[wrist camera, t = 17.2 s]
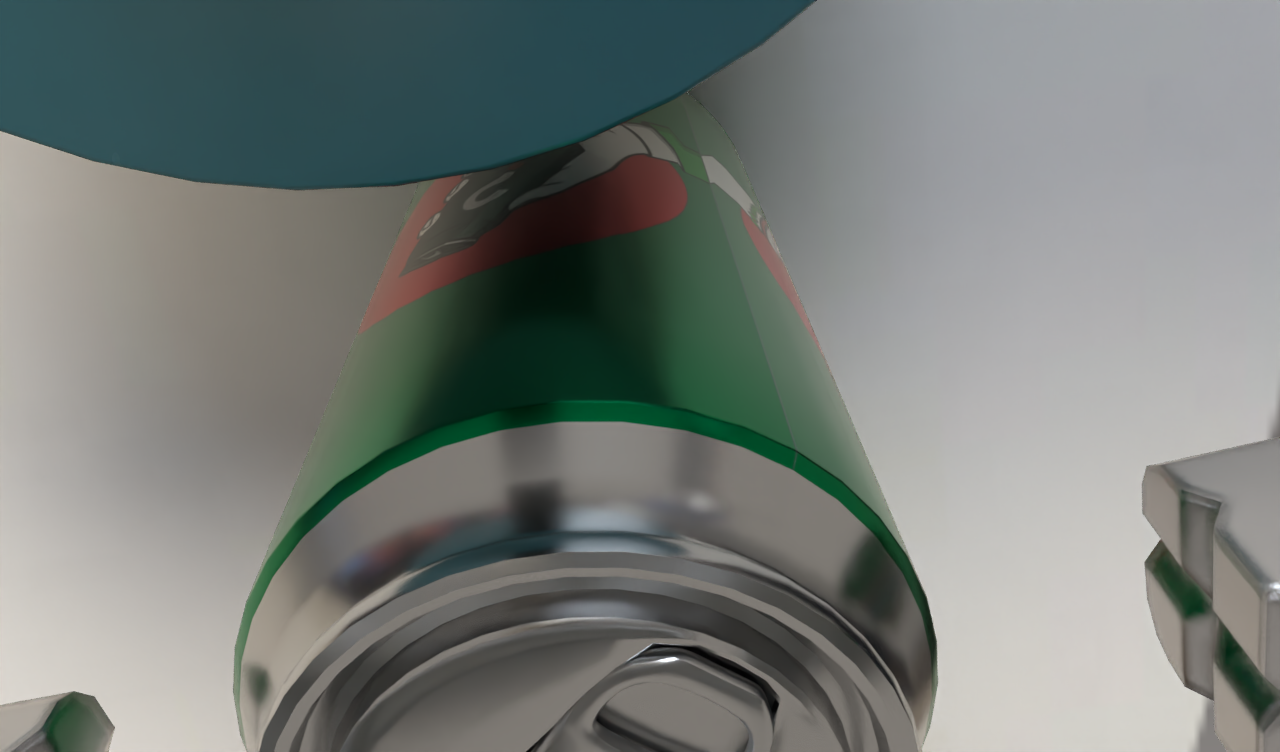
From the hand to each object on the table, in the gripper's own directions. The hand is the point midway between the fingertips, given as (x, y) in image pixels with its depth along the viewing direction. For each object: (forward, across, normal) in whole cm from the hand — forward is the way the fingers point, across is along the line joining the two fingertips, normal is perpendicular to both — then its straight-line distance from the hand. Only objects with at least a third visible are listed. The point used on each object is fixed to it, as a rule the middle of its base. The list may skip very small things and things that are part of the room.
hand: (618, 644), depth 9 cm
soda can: (+10, 0, 0) cm, 11 cm away
